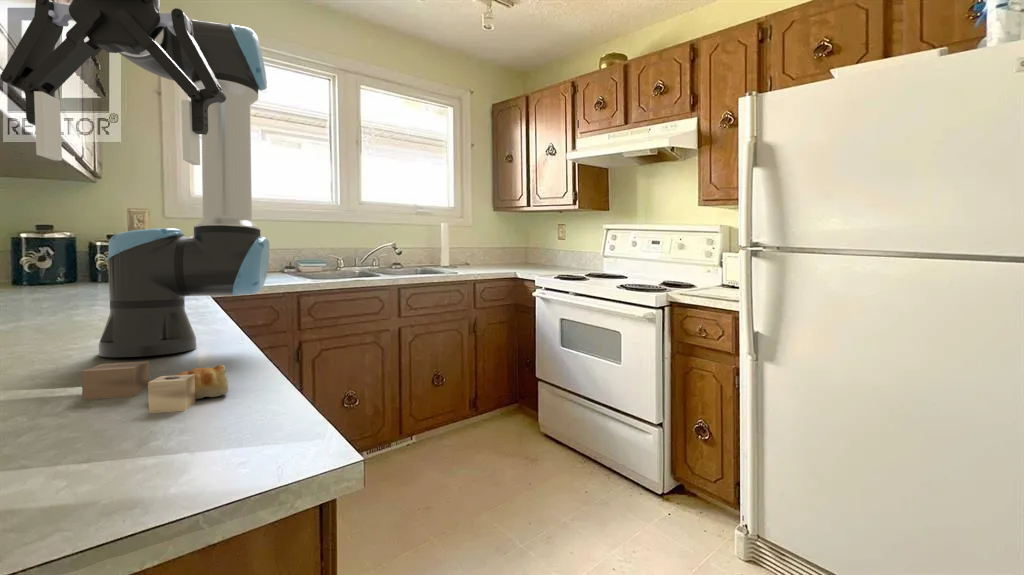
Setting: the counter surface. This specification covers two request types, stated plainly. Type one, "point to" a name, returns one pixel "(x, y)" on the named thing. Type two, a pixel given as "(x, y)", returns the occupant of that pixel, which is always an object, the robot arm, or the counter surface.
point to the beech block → (171, 393)
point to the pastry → (209, 381)
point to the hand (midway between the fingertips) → (122, 160)
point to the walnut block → (115, 380)
